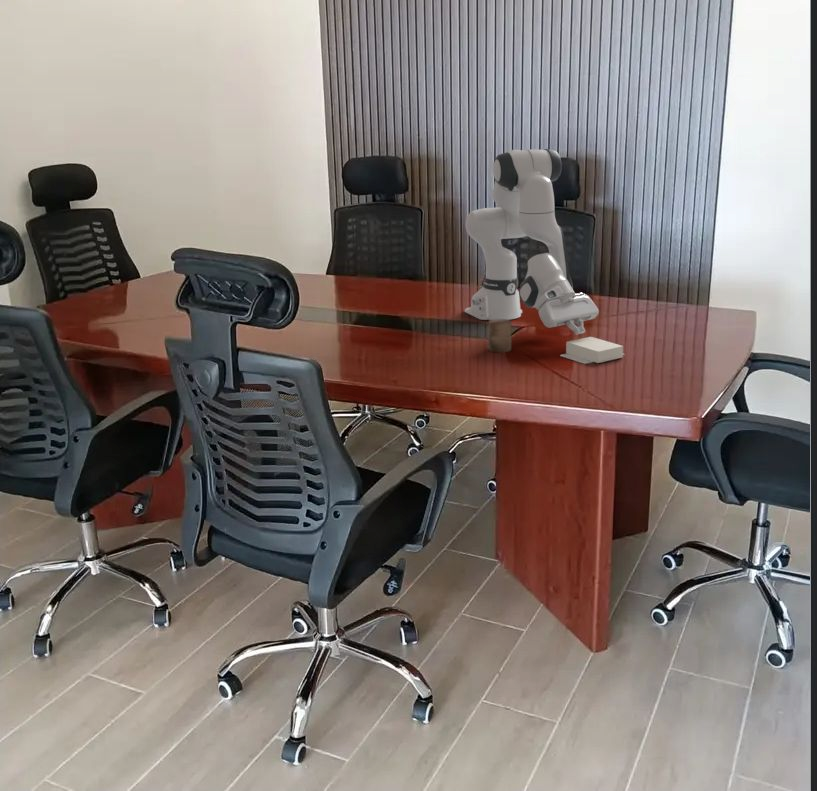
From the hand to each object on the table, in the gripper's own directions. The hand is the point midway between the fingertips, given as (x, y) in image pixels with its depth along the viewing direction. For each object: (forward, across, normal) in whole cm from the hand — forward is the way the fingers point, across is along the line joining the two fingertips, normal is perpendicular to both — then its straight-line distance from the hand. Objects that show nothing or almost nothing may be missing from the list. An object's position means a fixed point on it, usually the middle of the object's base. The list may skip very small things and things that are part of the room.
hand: (580, 333), depth 270 cm
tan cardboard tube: (-8, +18, -16) cm, 26 cm away
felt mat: (+8, 0, 0) cm, 8 cm away
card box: (+2, 0, -3) cm, 4 cm away
